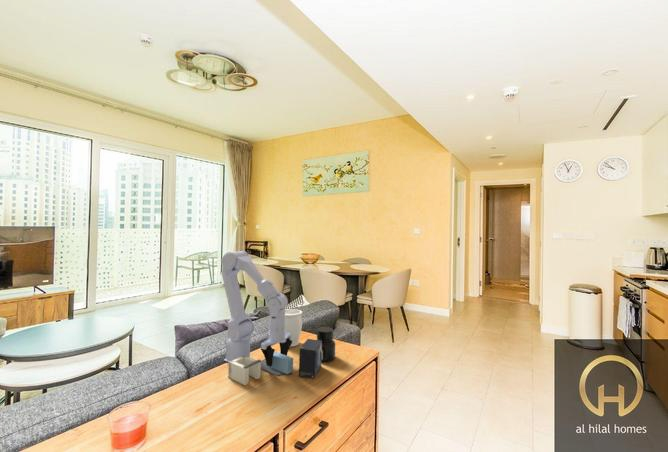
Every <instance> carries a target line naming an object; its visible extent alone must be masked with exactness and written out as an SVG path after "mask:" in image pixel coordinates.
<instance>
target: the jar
mask: <svg viewBox="0 0 668 452" xmlns="http://www.w3.org/2000/svg"><path fill="white" fill-rule="evenodd" d="M284 309H285V334H286V333H291V334H292V338H291V339H289V340H292V344H291V346H290V348H291V347H297V346H298V345H299V344H300V340H299V339H300V337H301V334H302V327H303V318H302V314H303V311H302V310H300V309H296V308H287V309H286V308H284Z"/></svg>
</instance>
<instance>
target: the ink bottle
mask: <svg viewBox="0 0 668 452" xmlns="http://www.w3.org/2000/svg"><path fill="white" fill-rule="evenodd" d="M316 338H317V339H316V340H320V341H322V357H321V363H328V362H332V361H334V360H335V358H336V342H335V340H334V329H333V327H329V326H321V327H317V328H316Z"/></svg>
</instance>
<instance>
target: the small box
mask: <svg viewBox="0 0 668 452" xmlns="http://www.w3.org/2000/svg"><path fill="white" fill-rule="evenodd" d="M321 357H322V341H320V340H317V339H312V338H307V339H306V340H305V341H304V342H303V344H302V345H301V346H300V347H299V359H298V361H299V362H298V377H301V378H307V379H308V378H309V379H315V378H316V376H317V374H318V373H319V371H320V369H321V368H322V362H321Z"/></svg>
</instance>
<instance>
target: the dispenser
mask: <svg viewBox="0 0 668 452" xmlns="http://www.w3.org/2000/svg"><path fill="white" fill-rule="evenodd" d="M252 358H253V357H251V358H249V357H247V356H242V357H239V358H237V359H234V360H232V361H230V362H228V370H227V371H228V375H227V377H228V378H229V379H231V380H233V381H235V382H237V383H240V384H242V385H244V386H246V385H248V384H249V377H253V379H254V378H255V379H256V380H257V379H260V378H261V377H262V376H261V372H262V371H261V370H262V369H261V361H262V360H261V359H256V358H254V359H252Z"/></svg>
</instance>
